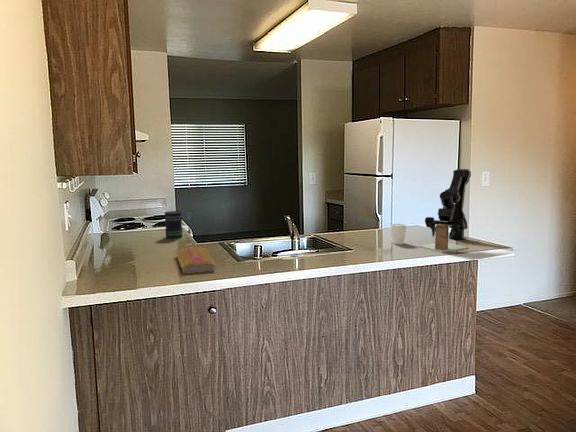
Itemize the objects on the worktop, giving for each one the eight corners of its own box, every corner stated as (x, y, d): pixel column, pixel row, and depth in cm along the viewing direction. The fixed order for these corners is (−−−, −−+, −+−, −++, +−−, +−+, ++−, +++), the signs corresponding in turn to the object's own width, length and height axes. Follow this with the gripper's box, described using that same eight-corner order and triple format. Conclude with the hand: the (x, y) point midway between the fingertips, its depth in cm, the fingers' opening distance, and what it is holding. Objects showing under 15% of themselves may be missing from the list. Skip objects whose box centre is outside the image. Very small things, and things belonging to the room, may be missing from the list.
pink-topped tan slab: (175, 257, 225) (174, 245, 225) (205, 255, 230) (204, 242, 229) (181, 275, 192) (180, 261, 191) (216, 272, 197) (215, 258, 196)
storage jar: (162, 237, 275) (160, 212, 273) (174, 235, 283) (173, 210, 281) (174, 239, 270) (173, 213, 267) (186, 236, 278) (185, 211, 276)
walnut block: (437, 247, 236) (438, 223, 234) (447, 248, 233) (448, 224, 231) (435, 249, 231) (435, 225, 230) (445, 250, 229) (446, 226, 227)
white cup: (404, 241, 253) (404, 223, 252) (406, 244, 246) (407, 226, 244) (389, 241, 254) (389, 223, 253) (391, 244, 246) (391, 226, 245)
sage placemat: (443, 242, 249) (443, 241, 249) (467, 248, 235) (467, 247, 235) (418, 246, 241) (418, 245, 241) (441, 252, 227) (441, 251, 227)
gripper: (426, 201, 237) (419, 225, 230) (464, 203, 227) (458, 228, 220) (430, 214, 245) (423, 238, 237) (467, 217, 235) (461, 242, 227)
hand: (441, 237), depth 230 cm, fingers open, 8 cm apart
